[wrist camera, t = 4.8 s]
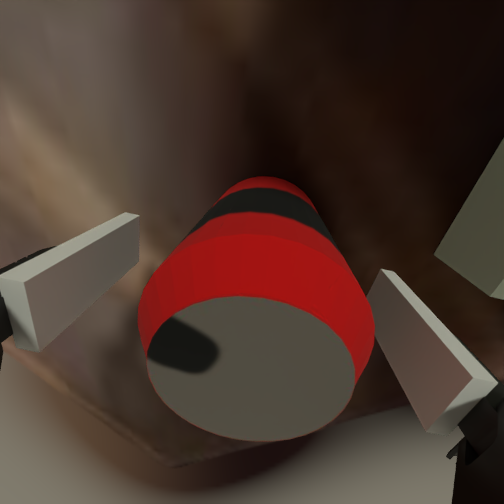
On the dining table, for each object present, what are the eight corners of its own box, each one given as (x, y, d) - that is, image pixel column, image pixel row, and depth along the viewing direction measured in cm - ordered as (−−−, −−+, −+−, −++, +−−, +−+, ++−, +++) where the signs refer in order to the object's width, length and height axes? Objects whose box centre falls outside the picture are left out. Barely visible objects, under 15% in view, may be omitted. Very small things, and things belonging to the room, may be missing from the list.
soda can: (243, 152, 15) (171, 189, 5) (341, 212, 16) (468, 357, 6) (195, 245, 18) (83, 399, 8) (280, 291, 20) (287, 481, 9)
